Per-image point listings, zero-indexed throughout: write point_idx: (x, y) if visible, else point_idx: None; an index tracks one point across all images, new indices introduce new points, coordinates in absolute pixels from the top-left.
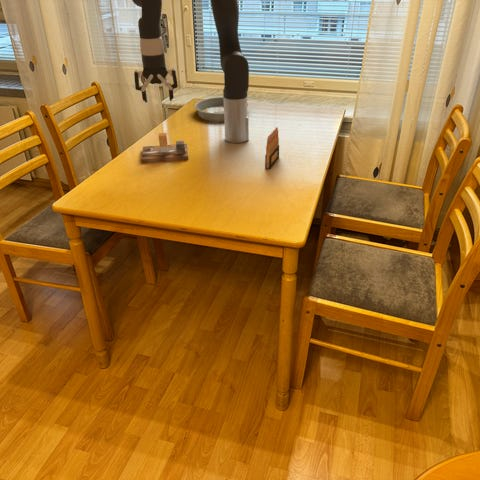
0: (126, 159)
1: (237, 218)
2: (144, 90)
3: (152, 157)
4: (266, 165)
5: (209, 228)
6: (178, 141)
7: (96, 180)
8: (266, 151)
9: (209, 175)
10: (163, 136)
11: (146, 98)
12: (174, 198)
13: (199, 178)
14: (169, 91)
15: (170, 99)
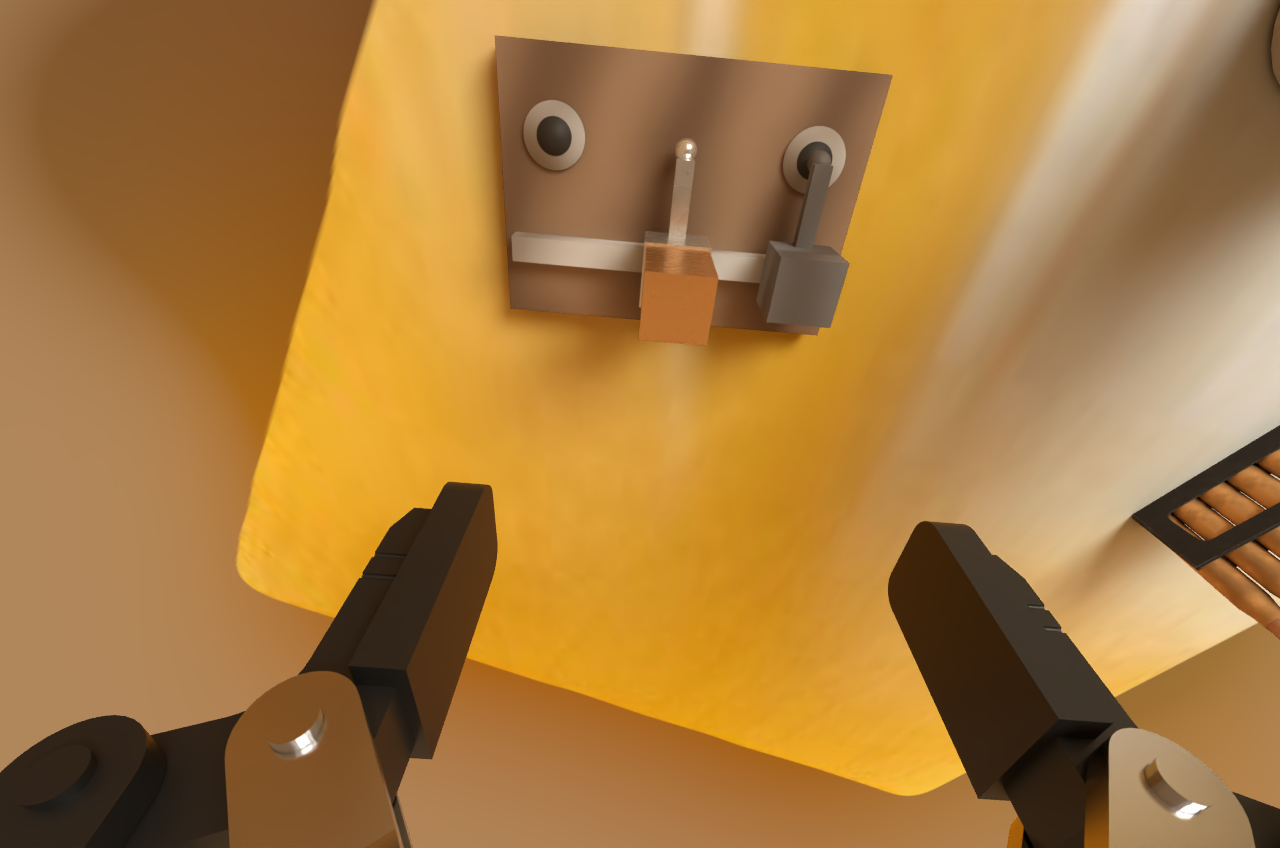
0: (399, 206)
1: (822, 727)
2: (395, 806)
3: (583, 296)
4: (1151, 530)
5: (734, 741)
6: (801, 265)
7: (309, 441)
8: (1220, 589)
9: (851, 514)
10: (681, 341)
11: (477, 615)
12: (665, 624)
13: (797, 527)
14: (981, 776)
15: (909, 616)
